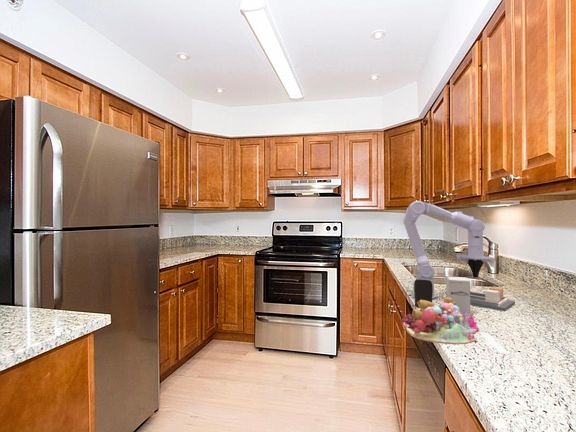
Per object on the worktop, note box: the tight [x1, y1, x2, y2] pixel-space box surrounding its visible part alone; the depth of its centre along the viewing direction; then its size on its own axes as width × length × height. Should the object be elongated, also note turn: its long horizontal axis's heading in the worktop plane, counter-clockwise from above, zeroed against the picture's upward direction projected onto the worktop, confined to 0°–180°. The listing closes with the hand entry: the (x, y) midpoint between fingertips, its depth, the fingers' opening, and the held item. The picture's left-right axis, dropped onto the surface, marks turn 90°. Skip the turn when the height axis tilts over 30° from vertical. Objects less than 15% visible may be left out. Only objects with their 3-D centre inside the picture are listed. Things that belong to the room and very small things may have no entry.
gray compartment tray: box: [470, 291, 516, 312], centre depth 132 cm, size 15×19×2 cm
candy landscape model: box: [399, 297, 480, 345], centre depth 102 cm, size 25×24×9 cm
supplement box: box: [445, 275, 471, 314], centre depth 121 cm, size 7×7×13 cm
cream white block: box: [484, 288, 500, 303], centre depth 126 cm, size 4×4×5 cm
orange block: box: [488, 286, 504, 300], centre depth 131 cm, size 4×4×5 cm
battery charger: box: [413, 277, 434, 308], centre depth 127 cm, size 7×4×11 cm, turn 66°
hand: (475, 277), depth 136 cm, fingers closed
